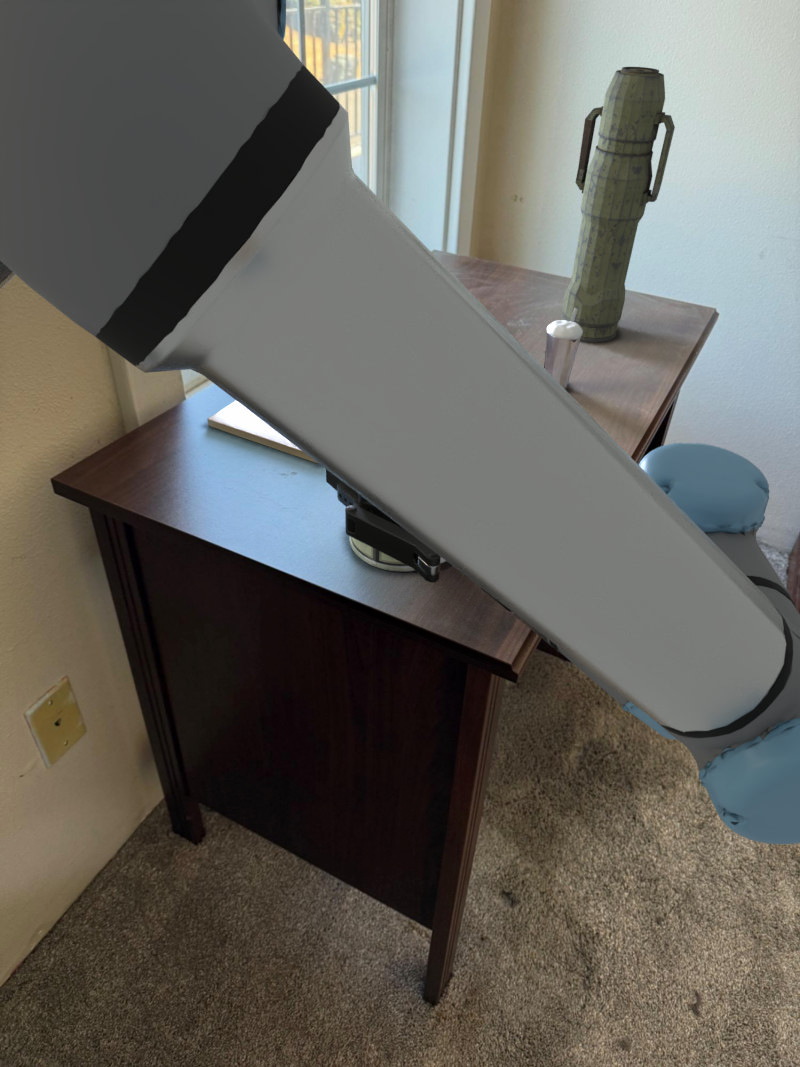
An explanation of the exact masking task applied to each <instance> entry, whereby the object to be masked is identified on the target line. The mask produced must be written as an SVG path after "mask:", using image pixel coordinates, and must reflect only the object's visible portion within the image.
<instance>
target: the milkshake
mask: <svg viewBox="0 0 800 1067" xmlns="http://www.w3.org/2000/svg"><path fill="white" fill-rule="evenodd" d="M577 310H578V309H577V308H574V311H573V314H572V318H571V321H566V320H562V319H556V320H554V321H552V322H550V323H549V324H548V325H547V326H546V336H545V337H546V338H545V352H544V362H543V367H544V369H545V370H546V371H547V372H548V373H549V374H550V375H551V376H552V377H553V378H554V379H555V380H556V381H557V382H558V383H559V384H560V385H561V386H562V387H563V388H564V389H565V390H567V388H568V384H569V381H570V378H571V374H572V370H573V367H574V363H575V360H576V356H577V352H578V349H579V346H580V343H581V340H580V339H581V336H582V333H583V330H582V328H581V327H580V326H579V325H578V324H577V323H575V322H574V320H575V317H576V313H577Z"/></svg>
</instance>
